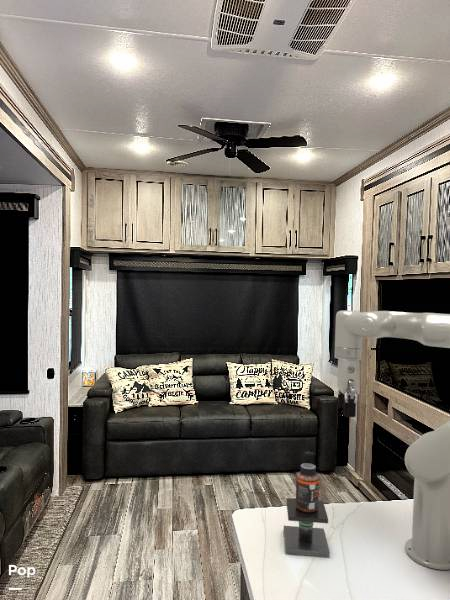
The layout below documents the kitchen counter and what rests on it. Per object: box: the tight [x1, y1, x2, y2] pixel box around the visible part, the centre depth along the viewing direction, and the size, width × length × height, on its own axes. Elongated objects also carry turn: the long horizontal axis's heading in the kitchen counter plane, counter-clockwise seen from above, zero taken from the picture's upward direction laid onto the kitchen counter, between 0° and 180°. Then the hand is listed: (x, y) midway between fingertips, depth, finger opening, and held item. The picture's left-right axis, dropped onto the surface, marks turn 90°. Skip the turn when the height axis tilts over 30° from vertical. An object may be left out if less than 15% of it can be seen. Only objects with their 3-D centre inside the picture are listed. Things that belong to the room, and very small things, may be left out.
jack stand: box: [283, 498, 331, 559], centre depth 117 cm, size 11×11×10 cm
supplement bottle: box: [295, 462, 320, 513], centre depth 117 cm, size 6×6×11 cm
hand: (346, 411), depth 128 cm, fingers open, 9 cm apart
